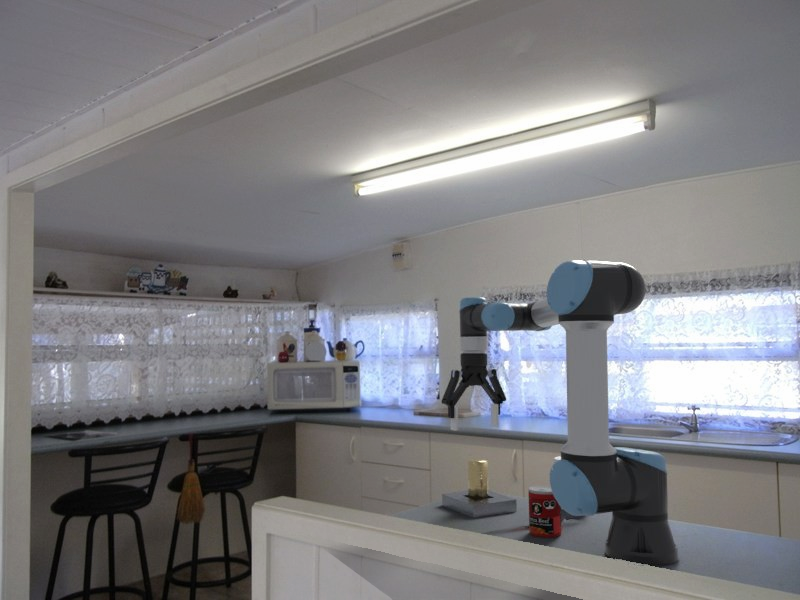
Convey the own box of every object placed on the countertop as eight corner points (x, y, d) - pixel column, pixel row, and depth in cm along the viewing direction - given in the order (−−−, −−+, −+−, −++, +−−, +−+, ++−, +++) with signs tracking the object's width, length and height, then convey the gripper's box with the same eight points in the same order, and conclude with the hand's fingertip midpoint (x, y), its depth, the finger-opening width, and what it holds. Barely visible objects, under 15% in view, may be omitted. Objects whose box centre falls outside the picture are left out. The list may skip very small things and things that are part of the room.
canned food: (523, 534, 168) (522, 488, 168) (540, 527, 174) (539, 483, 174) (550, 540, 162) (549, 493, 163) (567, 533, 168) (566, 487, 169)
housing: (516, 516, 185) (516, 499, 185) (473, 522, 178) (473, 505, 179) (483, 504, 199) (483, 488, 199) (442, 510, 193) (442, 493, 193)
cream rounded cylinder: (492, 509, 188) (491, 461, 189) (475, 511, 185) (474, 463, 186) (481, 505, 193) (480, 458, 193) (464, 507, 190) (463, 460, 191)
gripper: (501, 351, 201) (503, 424, 199) (428, 352, 189) (429, 430, 188) (517, 351, 194) (518, 427, 193) (442, 353, 182) (443, 433, 181)
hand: (474, 428), depth 190 cm, fingers open, 13 cm apart
